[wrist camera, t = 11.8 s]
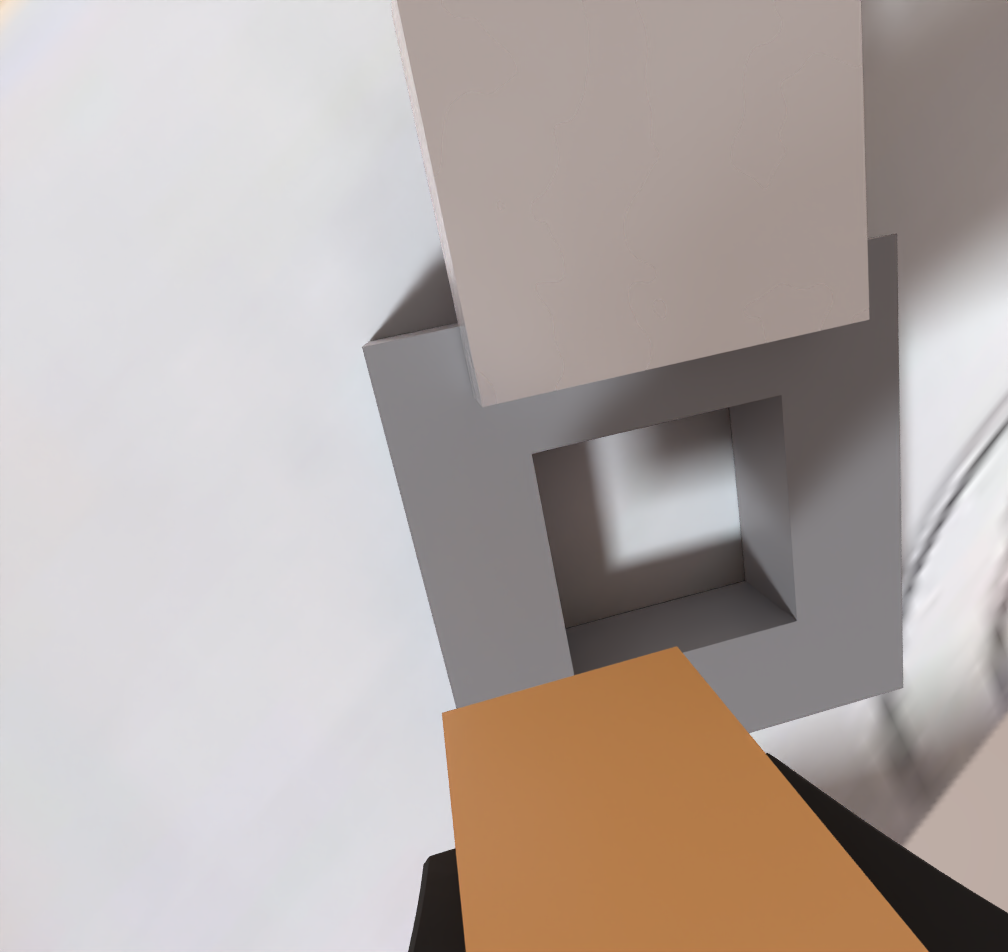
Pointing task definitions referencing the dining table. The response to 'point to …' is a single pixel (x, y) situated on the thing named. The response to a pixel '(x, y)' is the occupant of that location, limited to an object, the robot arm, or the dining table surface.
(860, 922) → the plug
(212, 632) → the dining table surface
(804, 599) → the socket plate
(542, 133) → the panel
